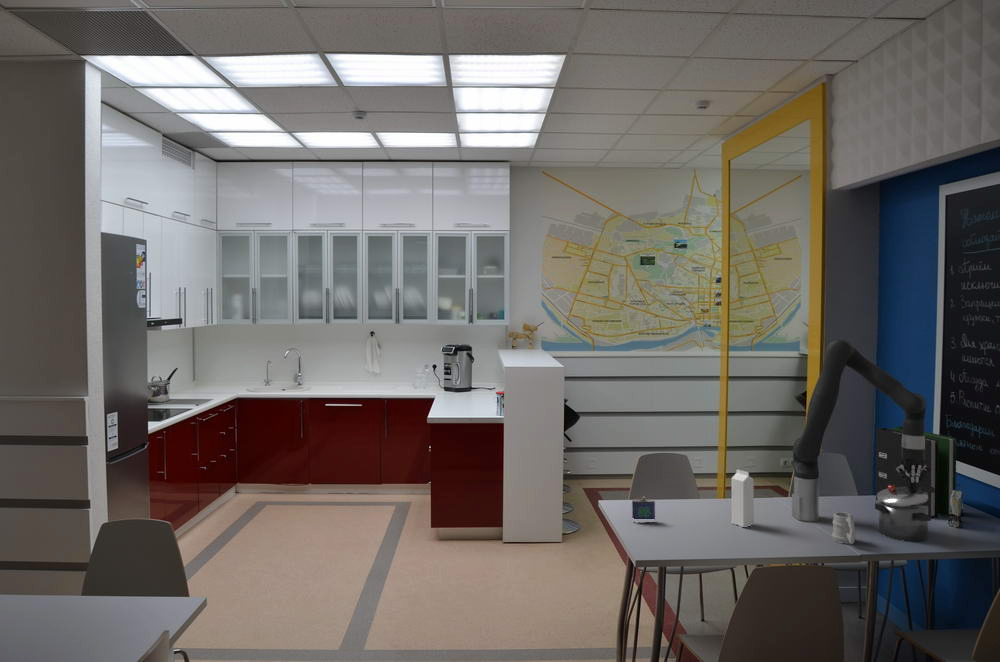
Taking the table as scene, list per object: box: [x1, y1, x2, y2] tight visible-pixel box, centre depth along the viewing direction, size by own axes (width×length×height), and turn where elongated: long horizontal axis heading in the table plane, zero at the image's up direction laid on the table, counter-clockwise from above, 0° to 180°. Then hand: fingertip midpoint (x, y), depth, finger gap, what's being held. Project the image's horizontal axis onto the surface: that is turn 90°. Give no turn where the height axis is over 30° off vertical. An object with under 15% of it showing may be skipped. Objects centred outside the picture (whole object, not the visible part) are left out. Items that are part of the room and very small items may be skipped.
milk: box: [731, 468, 755, 527], centre depth 264 cm, size 6×6×22 cm
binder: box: [875, 426, 957, 519], centre depth 281 cm, size 27×15×32 cm, turn 13°
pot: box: [874, 501, 932, 543], centre depth 250 cm, size 17×25×12 cm
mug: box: [831, 511, 856, 545], centre depth 243 cm, size 8×12×12 cm, turn 177°
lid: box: [877, 484, 935, 507], centre depth 250 cm, size 20×17×4 cm
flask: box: [631, 495, 656, 520], centre depth 269 cm, size 9×3×11 cm, turn 88°
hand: (912, 491), depth 250 cm, fingers closed
